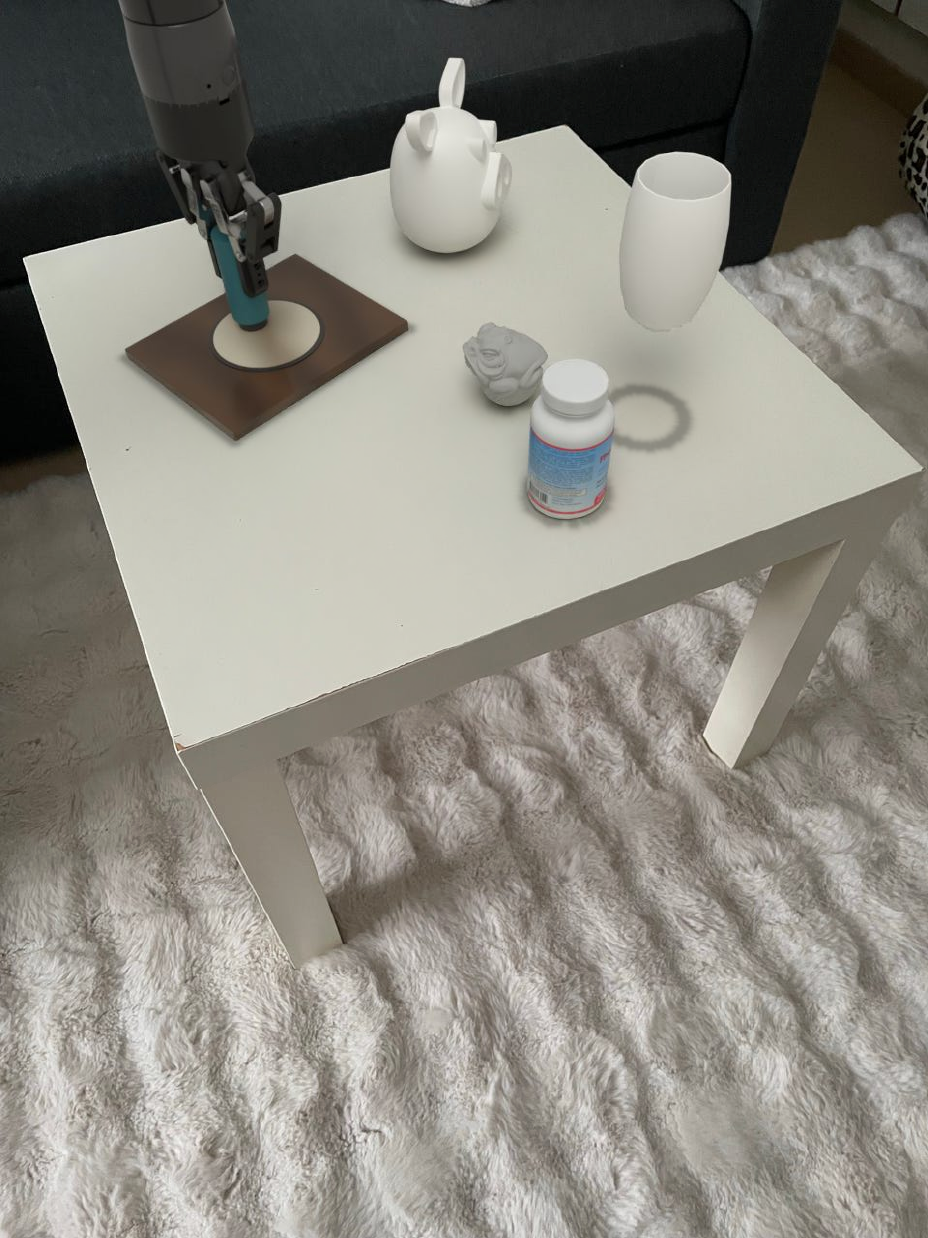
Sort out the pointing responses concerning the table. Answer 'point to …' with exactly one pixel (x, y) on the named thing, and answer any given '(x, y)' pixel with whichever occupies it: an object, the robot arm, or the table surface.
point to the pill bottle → (570, 440)
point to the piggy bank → (448, 172)
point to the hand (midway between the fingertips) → (243, 282)
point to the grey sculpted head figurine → (505, 363)
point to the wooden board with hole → (266, 347)
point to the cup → (673, 238)
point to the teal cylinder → (238, 286)
